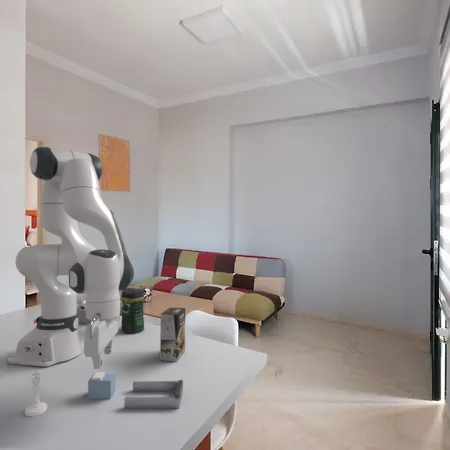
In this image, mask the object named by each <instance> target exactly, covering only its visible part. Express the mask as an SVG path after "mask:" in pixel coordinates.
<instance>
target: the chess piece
mask: <svg viewBox="0 0 450 450" xmlns="http://www.w3.org/2000/svg"><path fill="white" fill-rule="evenodd" d="M31 376H32V377H33V378H31V380H30V381H31V383H32V387H31V389H30V391H31V392H33V394H32V395H33V396H32V403H31V404H29V405H28V406H27V407H26V408H25V409H24V415H25V416H27V417H35V416H39V415H42V414H43V413H45V411H47V409H48V404H47V403H46V402H43V401H40V393H39V391H40V389H41V388H42V386H41V385H40V382H41V373H40V372H38V370H35V371H34V372H33V373H32V374H31Z"/></svg>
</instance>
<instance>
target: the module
mask: <svg viewBox="0 0 450 450" xmlns="http://www.w3.org/2000/svg"><path fill="white" fill-rule="evenodd" d="M87 383H88V384H87V394H88V395H87V399H88V400H111V399H112V398H113V396H114V394H115V393H116V373H106V372H105V371H96V372H95V373H93V374H92V376H91V377H90V378H89V379H88V381H87Z"/></svg>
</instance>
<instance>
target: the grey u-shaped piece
mask: <svg viewBox="0 0 450 450" xmlns="http://www.w3.org/2000/svg"><path fill="white" fill-rule="evenodd" d="M132 392H133V393H135V392H141V393H143V392H144V393H145V392H149V393H150V392H152V393H153V392H160V393H161V392H174V396H125V397H124V400H123V403H124V405H123V406H124V407H123V408H124V409H125V410H127V409H134V410H135V409H138V410H139V409H180V405H181V401H182V396H183V392H184V381H183V379H178V380H173V381H172V380H166V381H165V380H163V381H162V380H161V381H159V380H157V381H155V380H154V381H153V380H150V381H149V380H148V381H147V380H145V381H144V380H143V381H140V380H139V381H135V380H134V381H133V382H132Z"/></svg>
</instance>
